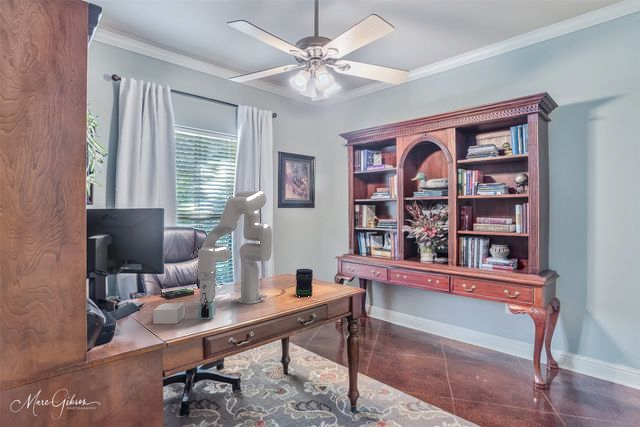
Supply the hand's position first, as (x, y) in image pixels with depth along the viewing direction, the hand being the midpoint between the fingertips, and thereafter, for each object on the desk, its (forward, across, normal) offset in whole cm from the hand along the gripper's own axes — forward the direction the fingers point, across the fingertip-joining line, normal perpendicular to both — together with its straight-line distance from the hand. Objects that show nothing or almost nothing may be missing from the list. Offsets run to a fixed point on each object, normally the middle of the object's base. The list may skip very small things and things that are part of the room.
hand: (207, 314), depth 152 cm
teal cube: (+1, 0, 0) cm, 1 cm away
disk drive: (+3, +42, +28) cm, 51 cm away
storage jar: (+4, +42, -45) cm, 62 cm away
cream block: (+2, 0, +16) cm, 16 cm away
